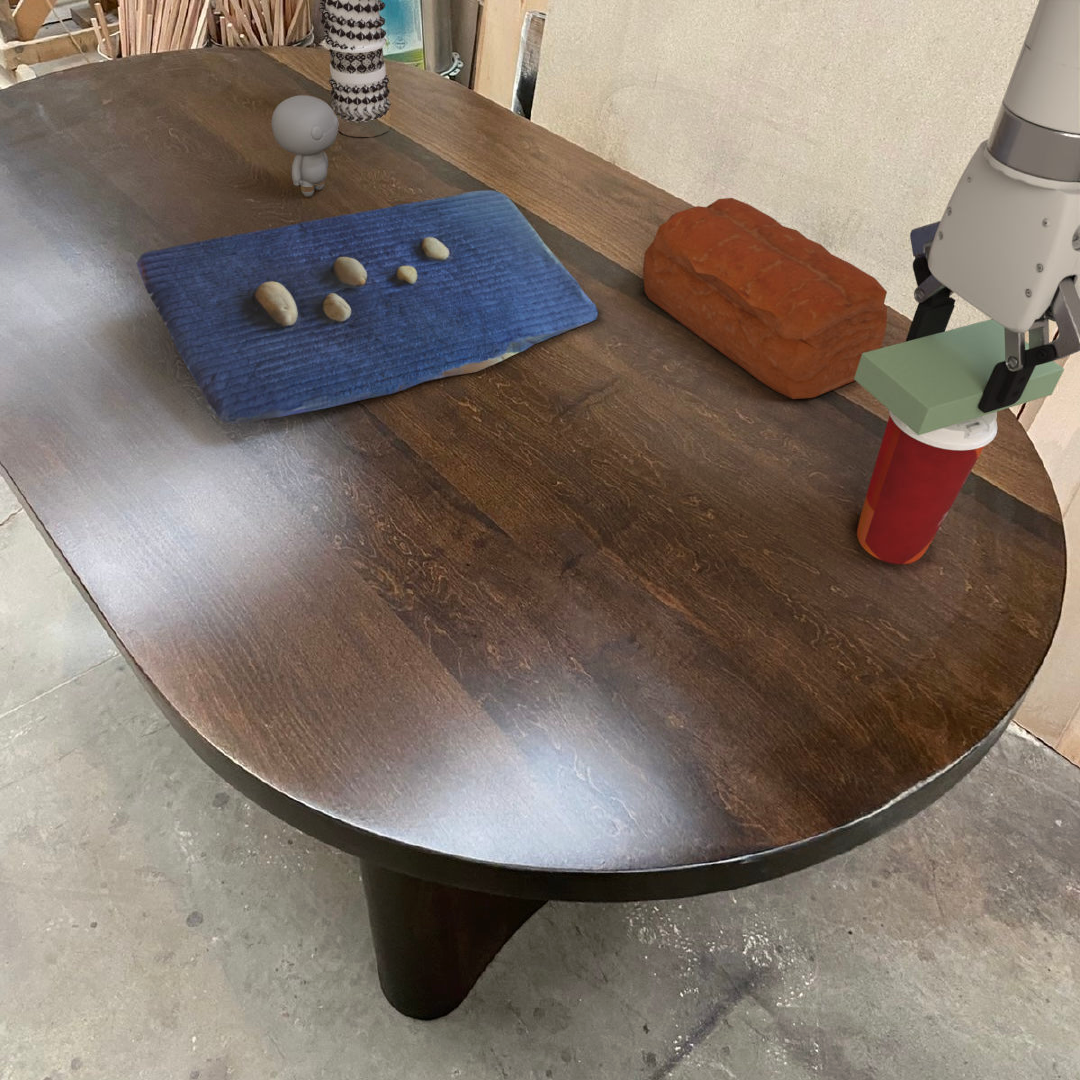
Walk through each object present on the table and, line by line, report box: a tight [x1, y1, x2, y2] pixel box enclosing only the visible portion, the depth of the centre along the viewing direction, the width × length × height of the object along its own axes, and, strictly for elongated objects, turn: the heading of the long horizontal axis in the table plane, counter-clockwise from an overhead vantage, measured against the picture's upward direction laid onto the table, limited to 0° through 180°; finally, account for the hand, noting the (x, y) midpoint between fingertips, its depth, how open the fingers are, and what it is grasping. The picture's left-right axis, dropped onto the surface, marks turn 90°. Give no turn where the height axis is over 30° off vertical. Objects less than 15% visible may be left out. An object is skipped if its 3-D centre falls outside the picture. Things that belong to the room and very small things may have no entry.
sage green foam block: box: [854, 318, 1065, 435], centre depth 72 cm, size 13×7×2 cm, turn 115°
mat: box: [136, 189, 599, 424], centre depth 106 cm, size 45×27×12 cm, turn 126°
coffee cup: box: [856, 409, 998, 565], centre depth 79 cm, size 8×8×15 cm
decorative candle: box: [318, 0, 392, 123], centre depth 135 cm, size 9×9×25 cm
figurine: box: [271, 94, 339, 198], centre depth 124 cm, size 8×8×12 cm
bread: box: [642, 197, 888, 400], centre depth 104 cm, size 16×27×11 cm, turn 33°
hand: (957, 375), depth 72 cm, fingers closed on sage green foam block, 7 cm apart
